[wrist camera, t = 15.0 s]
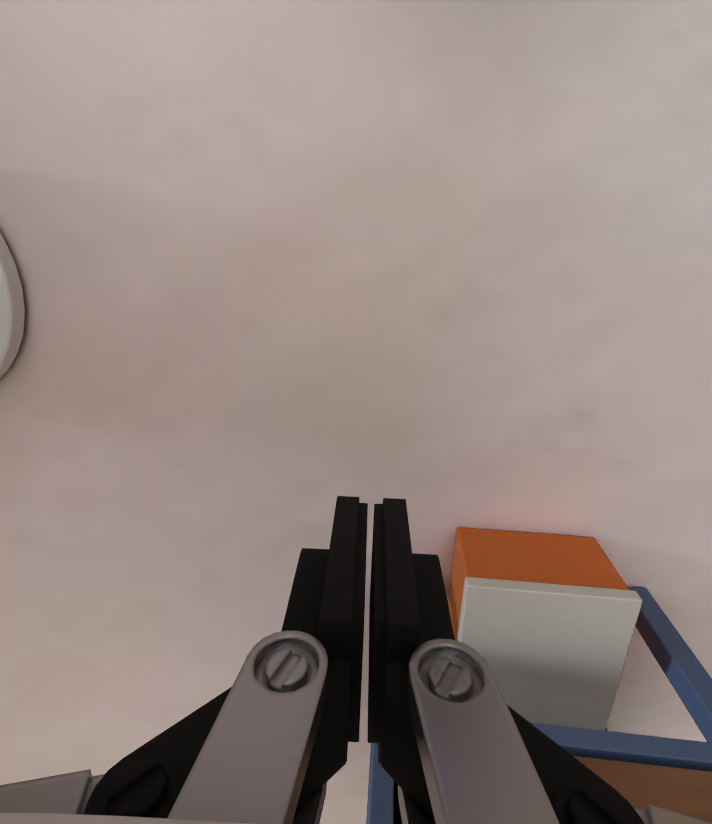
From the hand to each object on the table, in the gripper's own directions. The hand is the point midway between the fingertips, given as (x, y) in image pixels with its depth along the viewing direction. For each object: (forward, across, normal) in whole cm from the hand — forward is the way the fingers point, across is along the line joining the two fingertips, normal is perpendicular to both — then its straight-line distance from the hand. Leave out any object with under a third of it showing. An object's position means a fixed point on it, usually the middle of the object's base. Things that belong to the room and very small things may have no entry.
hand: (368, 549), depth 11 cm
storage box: (+13, -9, +13) cm, 20 cm away
